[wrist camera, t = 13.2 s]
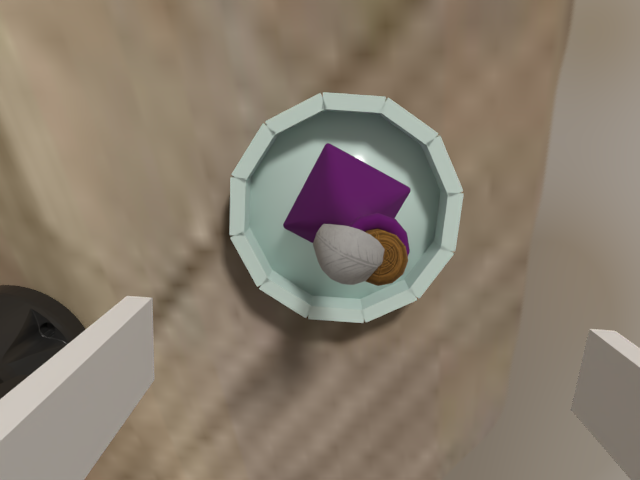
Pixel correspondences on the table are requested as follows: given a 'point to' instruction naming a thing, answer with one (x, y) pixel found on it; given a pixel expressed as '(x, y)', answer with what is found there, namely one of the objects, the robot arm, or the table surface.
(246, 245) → the round tray
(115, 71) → the table surface
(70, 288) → the table surface
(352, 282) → the perfume bottle
